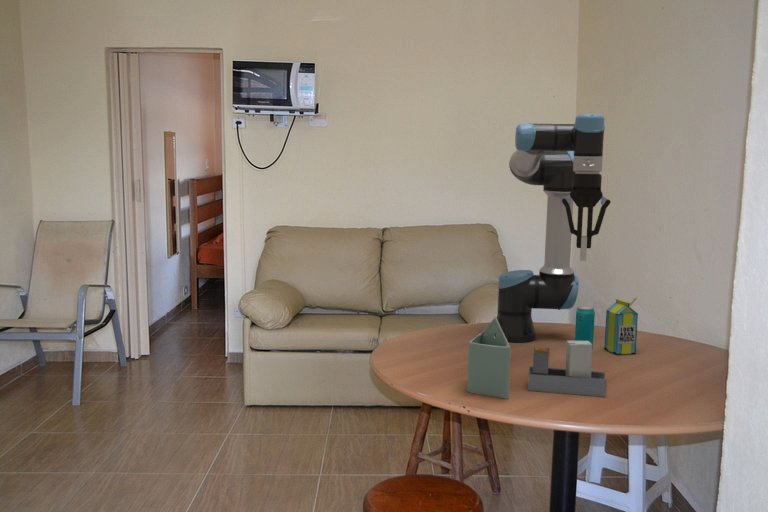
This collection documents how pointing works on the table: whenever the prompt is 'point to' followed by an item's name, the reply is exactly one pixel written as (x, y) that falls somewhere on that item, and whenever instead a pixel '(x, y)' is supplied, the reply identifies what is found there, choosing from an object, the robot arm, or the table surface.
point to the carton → (621, 328)
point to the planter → (489, 362)
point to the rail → (562, 378)
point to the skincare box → (578, 359)
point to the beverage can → (585, 324)
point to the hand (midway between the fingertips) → (582, 260)
